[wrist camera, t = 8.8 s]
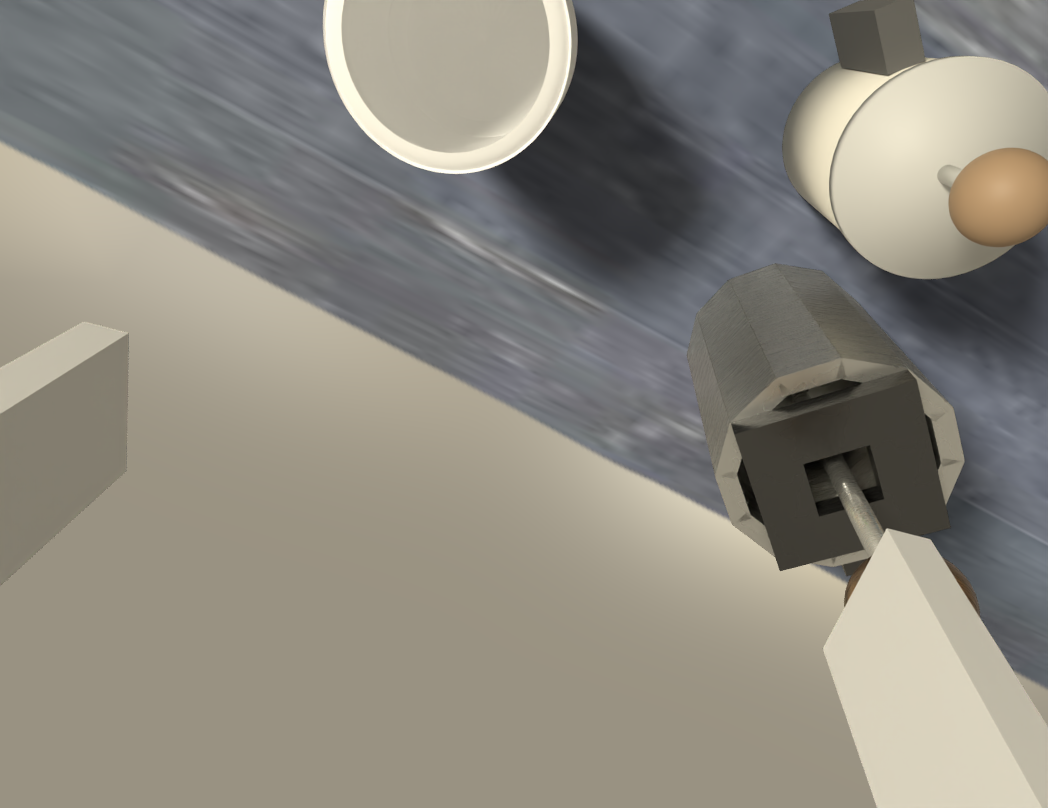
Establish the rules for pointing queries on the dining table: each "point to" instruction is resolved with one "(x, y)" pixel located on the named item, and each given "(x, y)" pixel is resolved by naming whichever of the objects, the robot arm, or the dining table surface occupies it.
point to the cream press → (919, 147)
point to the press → (816, 417)
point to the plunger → (860, 499)
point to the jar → (451, 74)
